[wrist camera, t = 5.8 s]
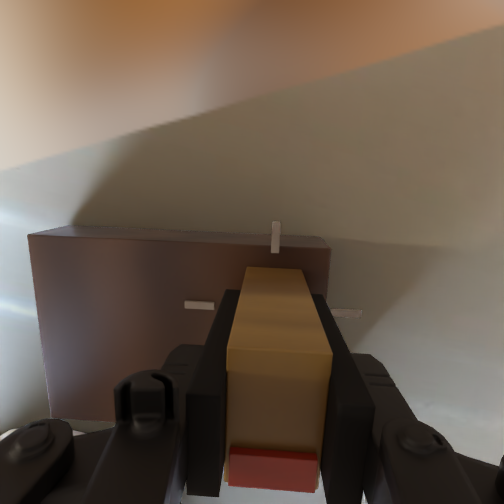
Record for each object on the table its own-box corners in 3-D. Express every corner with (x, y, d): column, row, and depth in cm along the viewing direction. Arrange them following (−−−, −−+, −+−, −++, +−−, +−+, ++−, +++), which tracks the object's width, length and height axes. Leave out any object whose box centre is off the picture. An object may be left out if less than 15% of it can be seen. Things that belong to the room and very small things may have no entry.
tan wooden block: (246, 266, 14) (225, 352, 7) (302, 269, 14) (335, 359, 7) (243, 345, 15) (221, 492, 8) (295, 349, 15) (320, 500, 8)
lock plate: (353, 217, 16) (372, 225, 13) (332, 399, 19) (345, 441, 16) (65, 205, 17) (20, 210, 14) (82, 382, 20) (48, 420, 16)
